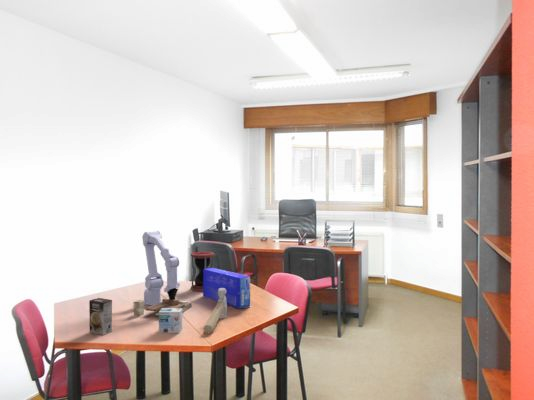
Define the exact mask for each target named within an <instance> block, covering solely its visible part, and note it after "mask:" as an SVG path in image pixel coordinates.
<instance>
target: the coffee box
mask: <svg viewBox="0 0 534 400" xmlns="http://www.w3.org/2000/svg"><path fill="white" fill-rule="evenodd" d="M88 304H89V333H91V334H96V335H100V336H104V335H106V334H110V333H111V332H112V331H113V300H112V299H108V298H102V297H97V298H92V299H90V300H89V302H88Z"/></svg>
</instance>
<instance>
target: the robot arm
mask: <svg viewBox="0 0 534 400" xmlns="http://www.w3.org/2000/svg"><path fill="white" fill-rule="evenodd" d="M162 237H163V236H162V233H161V231H159V230H156V231H155V230H154V231H144V232H143V234H142V236H141V238H142V245H143V246H144V248H145V249H144V250H145V256H146V261H147V269H148V274H147V275H146V277H144V278H145V281H144V285H145V288H146V289H145V290H144V291H143V300H144V305H149V306H152V305H154V304H156V303H158V302H162V298H161V296H162V295H161V290H162V287H164V279H163V277H162V274H161V273H159V272H158V266H157V261H156V254H155V247H157V248H158V250H159V251H160V256H161V257H162V258H163V260H164V266H165V271H166V286H165V288H164V289H163V291H164V293H166V294H167V295H168V299H173V300H176V295H177V293H178V291H179V287H180V282H178V267H179V265H180V261H179V258H178V257H177V256H175V255H174V254H173V253H172V251H171V250H170V248H169V247H166V245H165V243H164V241H163V239H162Z"/></svg>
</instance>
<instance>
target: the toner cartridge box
mask: <svg viewBox="0 0 534 400" xmlns="http://www.w3.org/2000/svg"><path fill="white" fill-rule="evenodd" d="M219 288H225V289H226V291H227V292H226V294H225V297H226V300H227V306H231V307H233V308H238V309H245V308H249V307H250V306H251V276H249V275H245V274H242V273H236V272H232V271H228V270H224V269H220V268H216V267H212V268H210V267H207V268H206V269H204V270H203V291H202V296H203V297H204V298H206V299H209V300H212V301H216V302H218V300H219V298H220V296H218V289H219Z"/></svg>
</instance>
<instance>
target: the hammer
mask: <svg viewBox="0 0 534 400" xmlns="http://www.w3.org/2000/svg"><path fill="white" fill-rule="evenodd" d="M226 292H227V291H226V289H225V288H219V289H218V296H220V298H219V300H218V301H217V303H216V306H215V307H214V309H213V311H212V312H211V314H210V316H209V318H208V319H207V321H206V322H205V324H204V326H203V330H204V333H205V334H212V333H213V331H214V329H215V327H216V325H217V323H218V322H219V321H218V320H219V319H226V318H227V314H228V304H227V300H226V297H225V294H226Z"/></svg>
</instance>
